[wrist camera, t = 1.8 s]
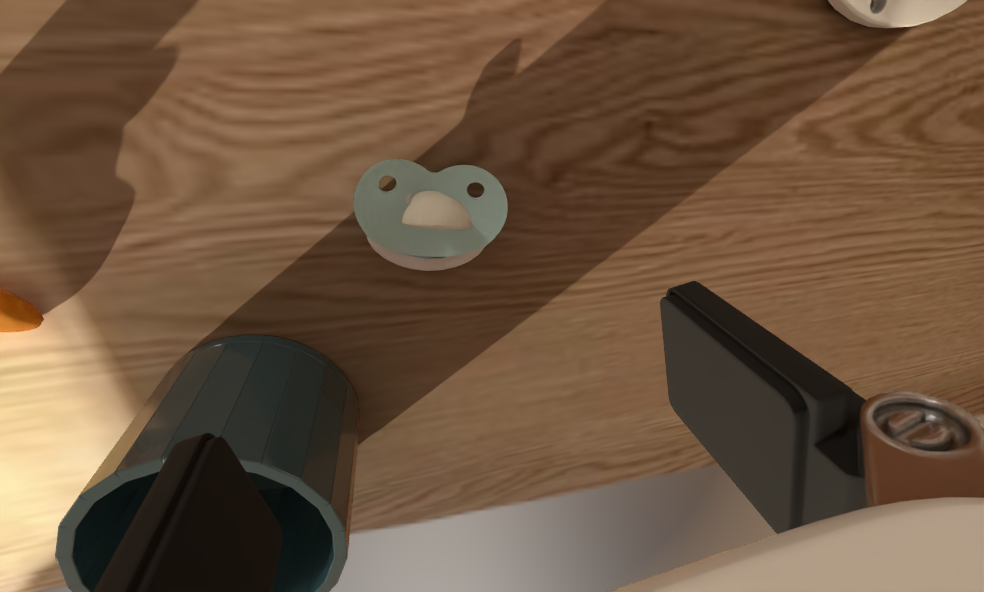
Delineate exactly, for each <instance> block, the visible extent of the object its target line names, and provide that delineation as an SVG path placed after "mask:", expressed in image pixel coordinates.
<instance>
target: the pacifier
mask: <svg viewBox="0 0 984 592" xmlns="http://www.w3.org/2000/svg"><path fill="white" fill-rule="evenodd" d="M384 176H392V177H393V178H394V179H395V180H396V186H395V188H394V189H393V190H391V191H388V192H387V191H383V190H381V189H380V187H379V184H378V183H379V180H380V179H381V178H382V177H384ZM473 182H478V183H480V184H482V185H483V187H484V193H483V194H482V196H480V197H477V198H474V197H471V196H470V195H469V194H468V193H467V187H468V186H469V184H471V183H473ZM354 211H355V215H356V218H357V221H358V223H359V225H360V226H361V228H362V229H363V231H364V232H365V234H366V235H367V240H368V242H369V243H370V245H371V246H372V248H373V249H374V250H375V251H376V252H377V253H378V254H379V255H381V256H382V257H383V258H384V259H386V260H388V261H390V262H392V263H394V264H396V265H399V266H403V267H406V268H410V269H416V270H424V271H433V270H445V269H449V268H454V267H457V266H460V265H462V264H464V263H467V262H469V261H470V260H472V259H473V258H475V257H476V256H477V255H479V254H480V252H481V251H482V250H483V249H484V247H485V246H486V245H488V244H489V243H490V242H491V241H492V240H493V239H494V238H495V237H496V235H497V234H498V233H499V232H500V231H501V229H502V227H503V225H504V223H505V220H506V218H507V211H508V204H507V198H506V194H505V192H504V189H503V187H502V185H501V184H500V183H499V181H498V180H497V179H496V178H495V177H494V176H493V175H492V174H490V173H489V172H488V171H486V170H484V169H482V168H479V167H476V166H472V165H456V166H452V167H448V168H445V169H443V170H441V171H440V172H436V173H433V172H429V171H428V170H427V169H425V168H424V167H422V166H421V165H419V164H417V163H415V162H412V161H408V160H404V159H390V160H385V161H382V162H379V163H377V164H375V165H374V166H372V167H371V168H369V169H368V170H367V171H366V172H365V173H364V174H363V176H362V177H361V179H360V181H359V182H358V184H357V187H356V190H355V194H354Z"/></svg>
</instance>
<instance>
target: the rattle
mask: <svg viewBox="0 0 984 592" xmlns="http://www.w3.org/2000/svg"><path fill="white" fill-rule="evenodd" d="M43 320H44V318H43V316H42V315H41V314H40V313H39V312H38V311H37V309H36V308H34V307H33V306H32V305H31V304H30V303H28V302H27V301H25V300H23V299H22V298H20V297H18V296H16V295H14V294H12V293H10V292H7V291H4V290H1V289H0V332H21V331H27V330H31V329H34V328H37V327H39V326H40V325H41V323H42V321H43Z"/></svg>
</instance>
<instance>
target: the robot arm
mask: <svg viewBox="0 0 984 592" xmlns="http://www.w3.org/2000/svg"><path fill="white" fill-rule="evenodd" d="M828 1H829V3H830V4H831V5H832V6H833V8H834V9H835V10H837V11H838V12H839V13H841V14H842V15H843V16H845V17H846V18H848V19H849V20H850V21H853V22H856V23H859V24H861V25H864V26H867V27H875V28H898V27H910V26H915V25H919V24H922V23H926V22H929V21H933V20H935V19H937V18H939V17H941V16H943V15H945V14H947V13H949V12H951V11H953V10H955V9H956V8H958V7H959V6H960V5H962V4H963V3H965V2H966V1H967V0H828ZM660 308H661V319H662V330H663V340H664V351H665V362H666V373H667V384H668V395H669V400H670V403H671V405H672V407H673V409H674V411H675V412H676V414H677V415H678V416H679V417H680V418H681V420H682V421H683V422H684V423H685V424H686V426H687V427H688V428H689V429H690V430H691V432H692V433H693V434H694V435H695V436H696V438H697V439H698V440H699V441H700V442H701V444H702V445H703V446H704V447H705V448H706V450H707V451H708V452H709V453H710V454H711V456H712V457H713V458H714V459H715V460H716V462H717V463H718V464H719V465H720V466H721V468H722V469H723V470H724V471H725V472H726V474H727V475H728V476H729V477H730V478H731V480H732V481H733V482H734V483H735V484H736V485H737V487H738V488H739V489H740V490H741V491H742V493H743V494H744V495H745V496H746V497H747V499H748V500H749V501H750V502H751V503H752V505H753V506H754V507H755V508H756V509H757V511H758V512H759V513H760V514H761V515H762V517H763V518H764V519H765V520H766V521H767V523H768V524H769V525H770V526H771V527H772V529H773V530H774V531H775V532H776V533H777V534H776V535H773V536H770V537H767V538H764V539H761V540H758V541H755V542H752V543H749V544H746V545H743V546H740V547H737V548H734V549H730V550H727V551H724V552H722V553H719V554H716V555H713V556H710V557H707V558H704V559H701V560H699V561H696V562H693V563H690V564H687V565H684V566H681V567H678V568H676V569H673V570H670V571H667V572H664V573H661V574H658V575H656V576H653V577H650V578H647V579H644V580H641V581H638V582H635V583H632V584H630V585H627V586H624V587H621V588H618V589H616V590H613V591H609V592H984V428H983V426H982V425H981V423H980V422H979V420H977V419H976V418H975V417H974V416H973V415H971V414H970V413H969V412H968V411H966V410H965V409H963V408H961V407H959V406H957V405H955V404H953V403H951V402H949V401H946V400H944V399H941V398H938V397H935V396H932V395H927V394H921V393H916V392H900V391H894V392H888V393H881V394H878V395H876V396H874V397H871V398H869V399H868V400H867V401H866V400H865V399H863V398H862V397H860V396H859V395H858V394H856V393H855V392H853V391H852V389H851V388H850V387H848V386H847V385H845V384H844V383H843V382H841V381H840V380H838V379H837V378H835V377H834V376H832V375H831V374H830V373H828V372H827V371H825V370H824V369H822V368H821V367H819V366H818V365H817V364H815V363H814V362H812V361H811V360H809V359H808V358H807V357H805V356H804V355H802V354H801V353H799V352H798V351H796V350H795V349H794V348H792V347H791V346H789V345H788V344H786V343H785V342H783V341H782V340H781V339H779V338H778V337H776V336H775V335H773V334H772V333H771V332H769V331H768V330H766V329H765V328H763V327H762V326H760V325H759V324H758V323H756V322H755V321H753V320H752V319H750V318H749V317H747V316H746V315H745V314H743V313H742V312H740V311H739V310H737V309H736V308H735V307H733V306H732V305H730V304H729V303H727V302H726V301H724V300H723V299H722V298H720V297H719V296H717V295H716V294H714V293H713V292H711V291H710V290H709V289H707V288H706V287H704V286H703V285H701V284H700V283H698V282H696V281H692V282H689V283H686V284H683V285H679V286H676V287H673V288H670V289H668V291H667V294H666V297H664V298H662V299H661V301H660ZM282 541H283V535H282V530H281V526H280V524H279V522H278V521H277V519H276V518H275V516H274V515H273V513H272V511H271V510H270V508H269V507H268V505H267V504H266V502H265V501H264V499H263V497H262V496H261V494H260V493H259V491H258V490H257V488H256V486H255V485H254V483H253V482H252V480H251V479H250V477H249V475H248V474H247V472H246V471H245V469H244V468H243V466H242V465H241V463H240V461H239V460H238V458H237V457H236V455H235V454H234V452H233V450H232V449H231V447H230V446H229V444H228V443H227V441H226V440H225V439H224V438H223V437H215V436H214V435H213V434H211V433H205V434H201V435H198V436H195V437H192V438H189V439H185V440H182V441H179V442H177V443H176V444H175V445H174V447H173V448H172V450H171V452H170V454H169V456H168V457H167V459H166V461H165V463H164V465H163V466H162V468H161V470H160V472H159V474H158V475H157V477H156V479H155V481H154V483H153V484H152V486H151V488H150V490H149V492H148V494H147V495H146V497H145V499H144V501H143V503H142V504H141V506H140V508H139V510H138V512H137V513H136V515H135V517H134V519H133V521H132V522H131V524H130V526H129V528H128V530H127V532H126V533H125V535H124V537H123V539H122V541H121V542H120V544H119V546H118V548H117V550H116V551H115V553H114V555H113V557H112V559H111V560H110V562H109V564H108V566H107V568H106V570H105V571H104V573H103V575H102V577H101V579H100V580H99V582H98V584H97V586H96V588H95V589H94V591H93V592H272V589H273V584H274V580H275V575H276V570H277V566H278V561H279V556H280V552H281V547H282Z"/></svg>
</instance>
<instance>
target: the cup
mask: <svg viewBox="0 0 984 592" xmlns="http://www.w3.org/2000/svg"><path fill="white" fill-rule="evenodd" d="M205 433H211V434H213V435H214V436H215V437H223V438H224V439H225V440H226V441H227V443H228V444H229V446H230V447H231V449H232V450H233V452H234V454H235V455H236V457H237V458H238V460H239V461H240V463H241V465H242V466H243V468H244V469H245V471H246V472H247V474H248V475H249V477H250V479H251V480H252V482H253V483H254V485H255V486H256V488H257V490H258V491H259V493H260V494H261V496H262V497H263V499H264V501H265V502H266V504H267V505H268V507H269V508H270V510H271V511H272V513H273V515H274V516H275V518H276V519H277V521H278V522H279V524H280V526H281V530H282V535H283V541H282V547H281V552H280V556H279V561H278V566H277V570H276V575H275V580H274V584H273V589H272V592H329V591H330V590H331V589H332V588H333V587H334V586H335V585H336V583H338V580H339V578H340V575H341V573H342V570H343V568H344V565H345V563H346V560H347V557H348V546H349V536H350V525H351V514H352V503H353V493H354V482H355V471H356V460H357V449H358V438H359V406H358V401H357V397H356V394H355V392H354V389H353V387H352V386H351V384H350V382H349V380H348V379H347V378H346V376H345V375H344V374H343V372H342V371H341V370H340V369H339V368H338V367H337V366H336V365H335V364H334V363H333V362H332V361H330V360H329V359H328V358H326V357H325V356H324V355H322V354H320V353H319V352H317V351H315V350H314V349H312V348H310V347H307V346H305V345H303V344H301V343H298V342H295V341H291V340H288V339H284V338H279V337H274V336H265V335H241V336H233V337H228V338H223V339H219V340H216V341H213V342H210V343H207V344H204V345H202V346H200V347H198V348H196V349H194V350H193V351H191V352H190V353H188V354H187V355H185V356H184V357H182V358H181V359H180V360H179V361H178V362H177V363H176V364H175V365H174V366H173V367H172V368H171V369H170V370H169V371H168V373H167V374H166V375H165V377H164V378H163V379H162V381H161V382H160V384H159V385H158V386H157V388H156V389H155V391H154V392H153V393H152V395H151V396H150V398H149V399H148V400H147V402H146V403H145V404H144V406H143V407H142V409H141V410H140V411H139V413H138V414H137V416H136V417H135V418H134V420H133V421H132V423H131V424H130V425H129V427H128V428H127V430H126V431H125V432H124V434H123V435H122V436H121V438H120V439H119V441H118V442H117V443H116V445H115V446H114V448H113V449H112V450H111V452H110V453H109V455H108V456H107V457H106V459H105V460H104V461H103V463H102V464H101V466H100V467H99V468H98V470H97V471H96V473H95V474H94V475H93V477H92V478H91V480H90V481H89V482H88V484H87V485H86V487H85V488H84V489H83V491H82V492H81V493H80V495H79V496H78V498H77V499H76V501H75V502H74V503H73V505H72V506H71V508H70V509H69V511H68V512H67V514H66V515H65V516H64V518H63V519H62V521H61V522H60V525H59V527H58V536H57V544H56V553H55V557H56V561H57V563H58V566H59V568H60V570H61V573H62V575H63V577H64V580H65V582H66V585H67V586H68V588H69V589H70V590H71V591H72V592H93V591H94V589H95V588H96V586H97V584H98V582H99V580H100V579H101V577H102V575H103V573H104V571H105V570H106V568H107V566H108V564H109V562H110V560H111V559H112V557H113V555H114V553H115V551H116V550H117V548H118V546H119V544H120V542H121V541H122V539H123V537H124V535H125V533H126V532H127V530H128V528H129V526H130V524H131V522H132V521H133V519H134V517H135V515H136V513H137V512H138V510H139V508H140V506H141V504H142V503H143V501H144V499H145V497H146V495H147V494H148V492H149V490H150V488H151V486H152V484H153V483H154V481H155V479H156V477H157V475H158V474H159V472H160V470H161V468H162V466H163V465H164V463H165V461H166V459H167V457H168V456H169V454H170V452H171V450H172V448H173V447H174V445H175V444H176V443H177V442H179V441H182V440H185V439H189V438H192V437H195V436H198V435H201V434H205Z"/></svg>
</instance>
